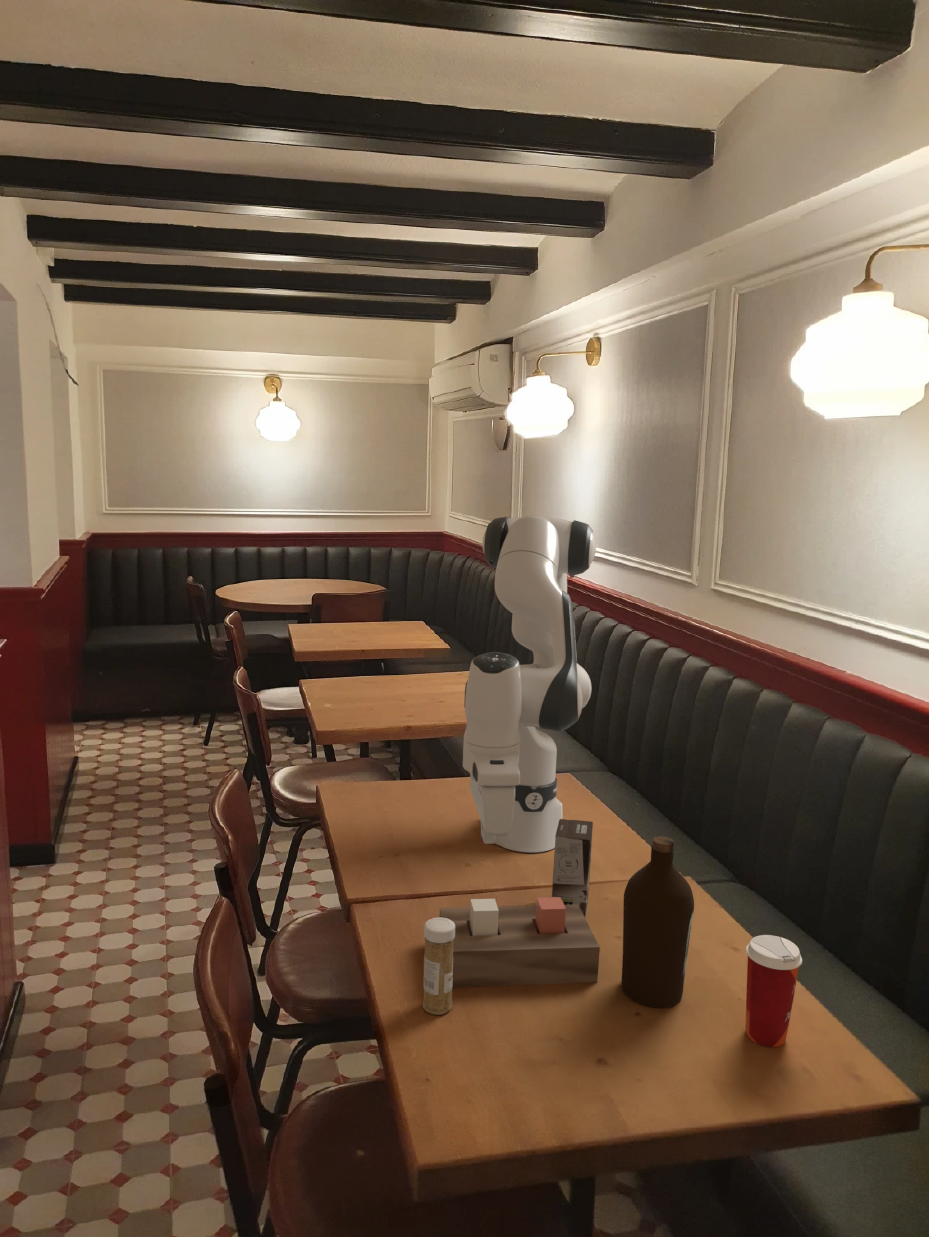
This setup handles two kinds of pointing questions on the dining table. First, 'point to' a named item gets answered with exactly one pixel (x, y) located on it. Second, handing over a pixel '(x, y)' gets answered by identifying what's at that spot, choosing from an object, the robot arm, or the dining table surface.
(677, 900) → the olive oil
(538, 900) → the red plug
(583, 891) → the coffee box
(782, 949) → the paper cup
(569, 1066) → the dining table surface
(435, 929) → the spice jar
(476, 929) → the white plug
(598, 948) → the socket block
